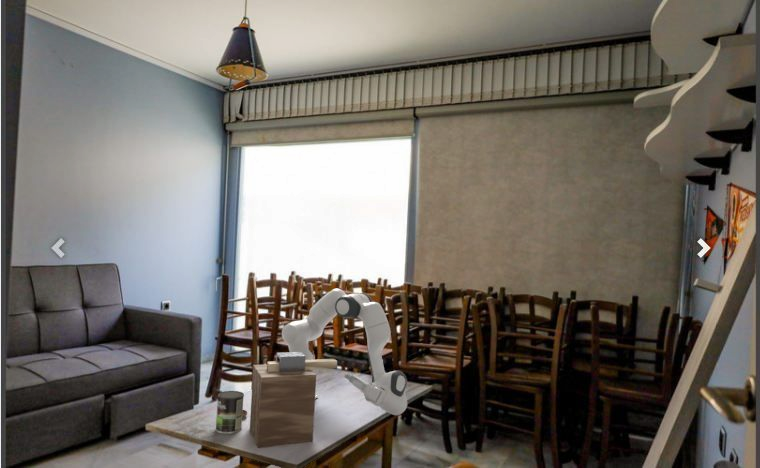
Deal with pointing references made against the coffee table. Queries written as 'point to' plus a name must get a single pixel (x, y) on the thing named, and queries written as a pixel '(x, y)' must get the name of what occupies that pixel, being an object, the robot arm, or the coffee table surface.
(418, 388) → the coffee table surface
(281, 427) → the brown tall wooden box
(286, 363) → the metal tunnel
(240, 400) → the coffee can
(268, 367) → the beech bar
